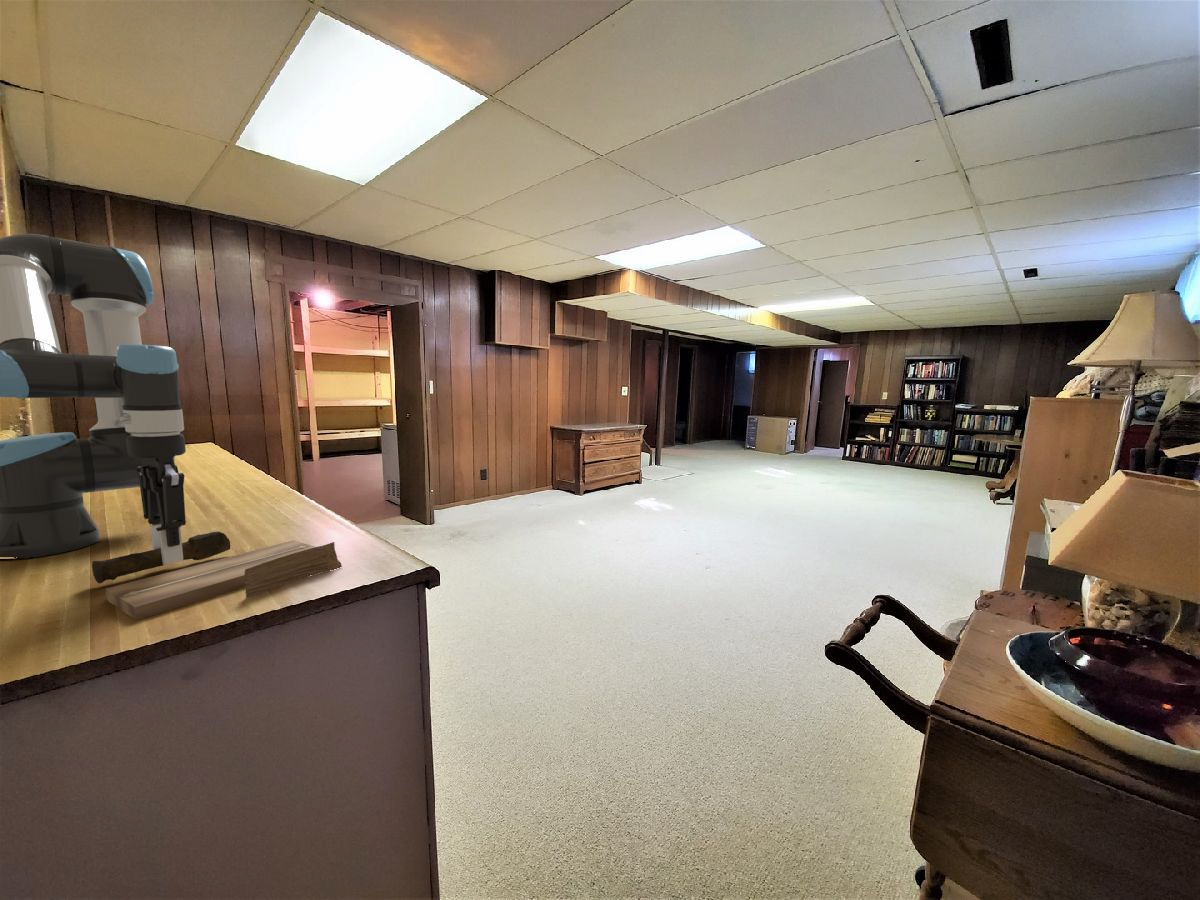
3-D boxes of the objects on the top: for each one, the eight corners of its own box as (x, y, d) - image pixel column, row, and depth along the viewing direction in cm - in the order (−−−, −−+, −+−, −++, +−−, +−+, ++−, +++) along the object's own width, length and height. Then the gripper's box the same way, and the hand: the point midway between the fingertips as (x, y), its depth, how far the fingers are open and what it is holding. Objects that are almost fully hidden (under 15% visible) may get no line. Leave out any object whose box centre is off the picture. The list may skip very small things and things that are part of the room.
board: (106, 600, 73) (105, 587, 73) (294, 549, 97) (294, 539, 97) (136, 620, 67) (134, 606, 67) (328, 560, 91) (327, 550, 91)
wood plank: (250, 600, 74) (248, 570, 74) (244, 597, 75) (241, 567, 75) (341, 568, 88) (340, 543, 87) (334, 566, 89) (333, 541, 88)
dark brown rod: (98, 587, 76) (95, 560, 75) (91, 581, 78) (88, 554, 77) (236, 554, 92) (234, 532, 91) (227, 550, 94) (226, 528, 93)
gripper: (109, 431, 82) (123, 557, 86) (145, 439, 75) (160, 577, 78) (164, 428, 89) (175, 545, 92) (202, 435, 81) (214, 563, 84)
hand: (168, 559), depth 85 cm, fingers closed on dark brown rod, 3 cm apart
